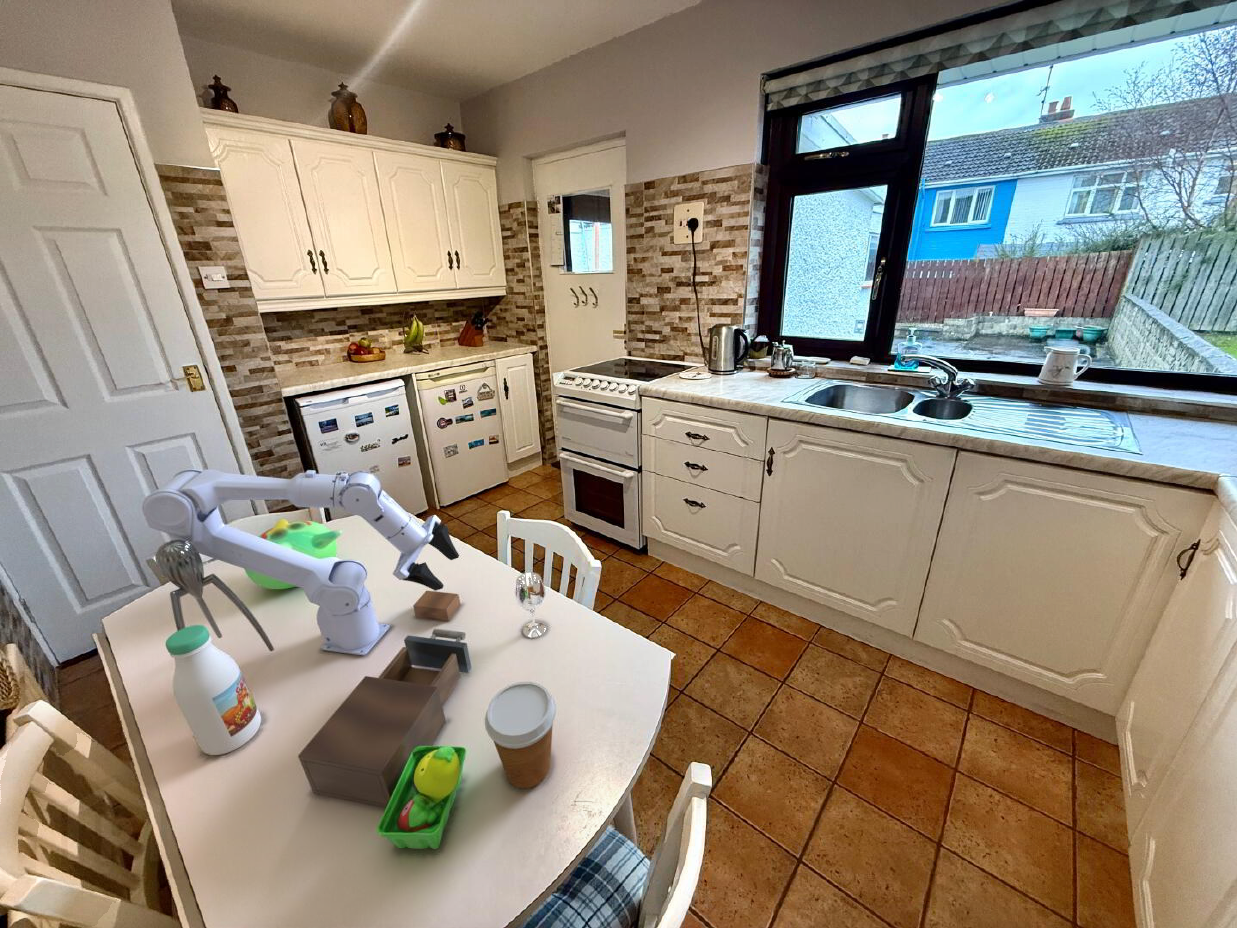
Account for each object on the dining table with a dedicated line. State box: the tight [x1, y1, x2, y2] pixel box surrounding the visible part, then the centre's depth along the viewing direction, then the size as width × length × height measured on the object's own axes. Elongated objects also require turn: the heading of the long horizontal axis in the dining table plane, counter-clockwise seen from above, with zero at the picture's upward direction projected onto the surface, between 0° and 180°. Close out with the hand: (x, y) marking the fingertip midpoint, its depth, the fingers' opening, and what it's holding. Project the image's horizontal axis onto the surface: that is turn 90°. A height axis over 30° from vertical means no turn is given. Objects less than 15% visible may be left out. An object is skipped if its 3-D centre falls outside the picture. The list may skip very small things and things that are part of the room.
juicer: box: [154, 539, 275, 652], centre depth 81 cm, size 10×11×30 cm
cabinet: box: [297, 675, 447, 809], centre depth 71 cm, size 14×13×8 cm
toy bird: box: [244, 518, 343, 590], centre depth 110 cm, size 18×17×15 cm
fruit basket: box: [376, 745, 467, 850], centre depth 62 cm, size 11×9×11 cm
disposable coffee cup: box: [484, 680, 557, 789], centre depth 68 cm, size 10×10×12 cm
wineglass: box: [514, 571, 547, 639], centre depth 94 cm, size 6×6×12 cm
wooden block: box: [412, 590, 461, 622], centre depth 101 cm, size 8×5×3 cm, turn 79°
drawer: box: [377, 628, 472, 708], centre depth 82 cm, size 17×11×6 cm
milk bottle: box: [165, 624, 262, 756], centre depth 72 cm, size 8×8×20 cm
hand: (447, 572), depth 95 cm, fingers open, 7 cm apart
